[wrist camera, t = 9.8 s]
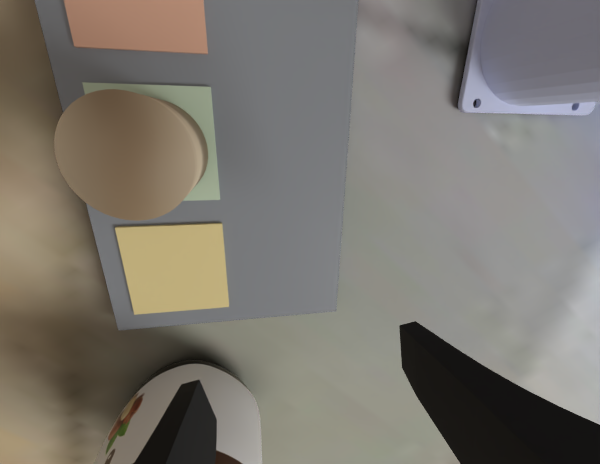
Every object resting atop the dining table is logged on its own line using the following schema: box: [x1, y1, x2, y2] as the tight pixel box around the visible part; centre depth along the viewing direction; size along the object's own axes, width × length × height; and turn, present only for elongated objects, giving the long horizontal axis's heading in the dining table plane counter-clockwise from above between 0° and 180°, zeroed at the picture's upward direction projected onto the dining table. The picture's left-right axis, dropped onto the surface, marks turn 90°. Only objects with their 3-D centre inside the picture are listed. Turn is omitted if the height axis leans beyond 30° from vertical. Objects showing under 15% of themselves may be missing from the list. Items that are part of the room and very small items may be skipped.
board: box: [35, 0, 358, 330], centre depth 16 cm, size 14×22×1 cm, turn 179°
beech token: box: [54, 89, 208, 221], centre depth 13 cm, size 5×5×4 cm
